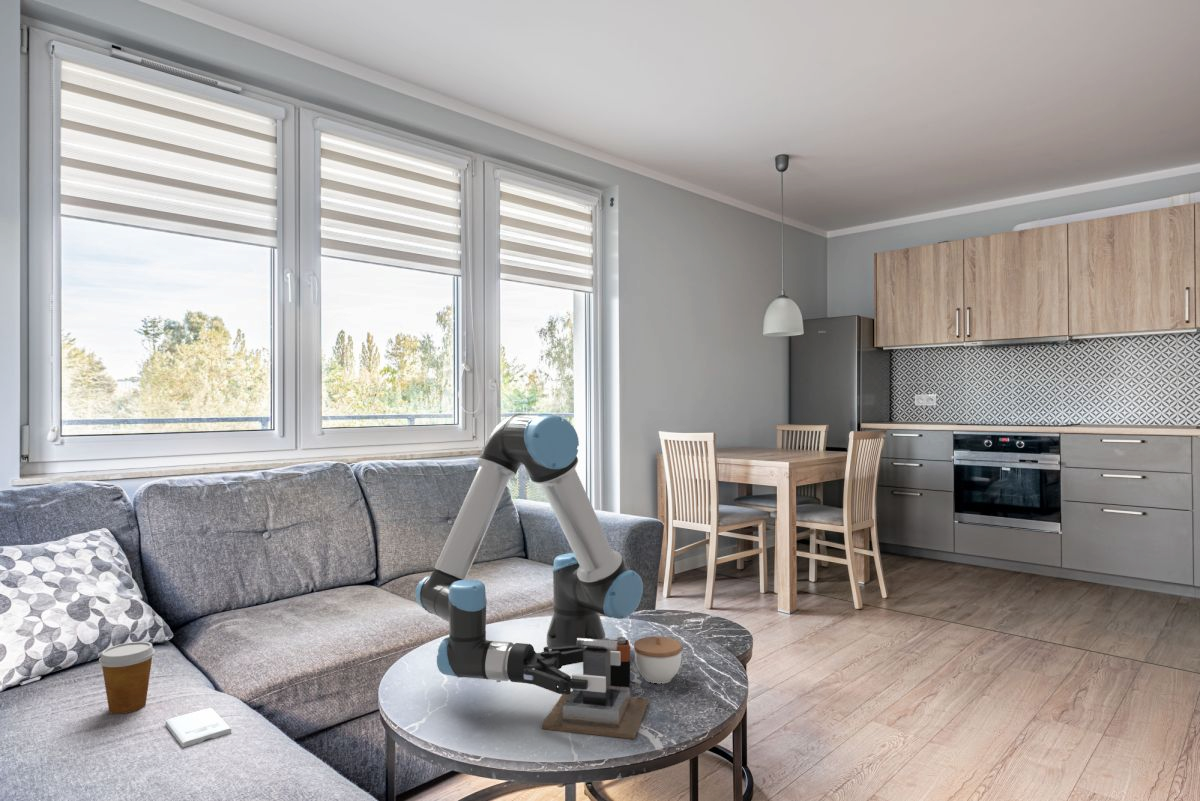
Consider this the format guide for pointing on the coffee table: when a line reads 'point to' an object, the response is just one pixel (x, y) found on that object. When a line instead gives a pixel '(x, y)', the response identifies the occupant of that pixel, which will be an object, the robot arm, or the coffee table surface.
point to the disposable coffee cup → (127, 675)
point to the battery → (621, 664)
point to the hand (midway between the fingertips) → (613, 671)
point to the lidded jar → (658, 658)
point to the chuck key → (597, 667)
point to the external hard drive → (197, 727)
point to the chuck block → (598, 714)
